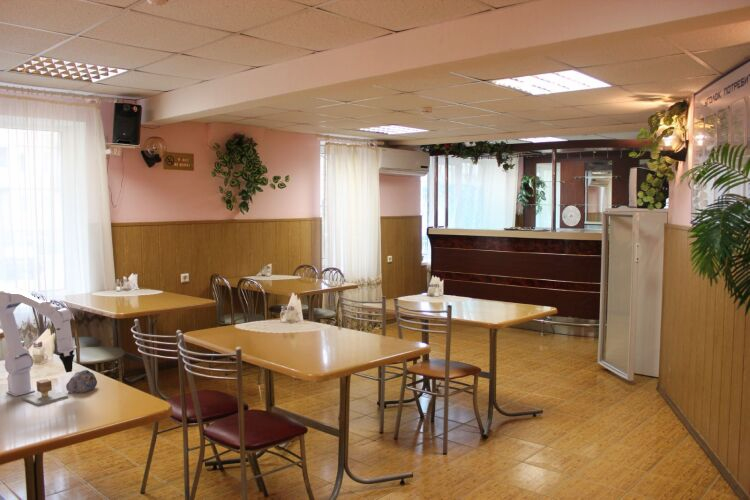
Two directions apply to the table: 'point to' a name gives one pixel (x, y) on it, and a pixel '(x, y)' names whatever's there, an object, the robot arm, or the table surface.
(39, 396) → the plate
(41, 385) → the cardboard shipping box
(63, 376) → the table surface
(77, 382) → the rock
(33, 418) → the table surface
